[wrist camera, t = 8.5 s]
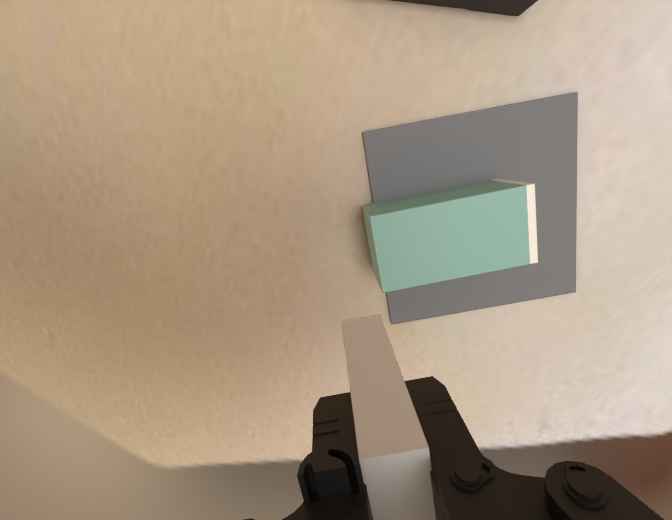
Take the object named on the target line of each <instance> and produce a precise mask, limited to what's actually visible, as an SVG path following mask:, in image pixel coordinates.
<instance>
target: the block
mask: <svg viewBox="0 0 672 520" xmlns="http://www.w3.org/2000/svg"><path fill="white" fill-rule="evenodd" d="M362 211H363V216H364V222H365V228H366V233H367V239H368V245H369V250H370V256H371V261H372V267H373V271H374V273H375V275H376V278H377V280H378V282H379V285H380V287H381V290H382V292H383V293H384V292H389V291H394V290H399V289H405V288H410V287H415V286H420V285H425V284H430V283H435V282H440V281H446V280H451V279H456V278H461V277H466V276H471V275H476V274H481V273H486V272H492V271H497V270H502V269H507V268H512V267H517V266H522V265H527V264H533V263H538V252H537V227H536V203H535V184H533V183H526V182H518V181H511V180H503V179H492V180H487V181H482V182H477V183H472V184H467V185H462V186H457V187H452V188H447V189H442V190H437V191H433V192H428V193H423V194H418V195H413V196H408V197H403V198H398V199H393V200H388V201H383V202H378V203H373V204H368V205H363V206H362Z"/></svg>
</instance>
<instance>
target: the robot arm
mask: <svg viewBox="0 0 672 520" xmlns="http://www.w3.org/2000/svg"><path fill="white" fill-rule="evenodd" d="M342 329H343V337H344V345H345V353H346V360H347V368H348V376H349V384H350V392H349V393H343V394H337V395H332V396H326V397H321V398H320V399H319V401H318V403H317V404H316V406H315V408H314V410H313V442H312V452H311V453H310V454H308V455H307V456H306V458H305V459H304V460H303V462H302V463H301V464H300V467H299V471H298V474H297V477H298V481H299V485H300V488H301V492H302V496H303V499H304V502H303V504H302V505H301V506H300V507H299V508H298V509H297V510H296V511H295V512H294V513H292V514H291V515H289V516H288V517H286V518H284V519H282V520H664V519H663V518H661V517H660V516H659V515H658V514H656V513H655V512H654V511H653V510H651V509H650V508H649V507H648V506H647V505H645V504H644V503H643V502H642V501H640V500H639V499H638V498H637V497H635V496H634V495H633V494H632V493H630V492H629V491H628V490H627V489H626V488H624V487H623V486H622V485H621V484H619V483H618V482H617V481H616V480H614V479H613V478H612V477H611V476H609V475H607V474H606V473H604V472H603V471H601V470H600V469H598V468H596V467H593V466H590V465H587V464H585V463H582V462H574V461H573V462H572V461H564V462H560V463H555V464H554V465H553V466H551V467H550V468H549V469H548V470H547V473H546V476H545V478H541V477H532V476H523V475H517V474H513V473H509V472H506V471H504V470H501V469H499V468H498V467H496V466H495V465H494V464H493V463H492V462H491V461H490V460H488V459H487V458H485V457H484V456H483V455H482V454H481V452H480V451H479V449H478V447H477V445H476V443H475V442H474V440H473V438H472V436H471V434H470V432H469V430H468V429H467V427H466V425H465V423H464V421H463V419H462V417H461V415H460V414H459V412H458V411H457V408H456V406H455V404H454V402H453V400H451V397H450V395H449V393H448V391H447V389H446V387H445V385H443V384H442V383H441V382H439V381H438V380H437V379H435V378H434V377H433V376H431V377H426V378H420V379H415V380H409V381H404V379H403V376H402V373H401V371H400V368H399V365H398V363H397V360H396V357H395V354H394V352H393V349H392V346H391V344H390V341H389V338H388V335H387V333H386V330H385V327H384V325H383V322H382V319H381V316H380V314H378V315H373V316H367V317H362V318H356V319H351V320H345V321H342ZM245 520H254V519H245Z"/></svg>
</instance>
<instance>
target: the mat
mask: <svg viewBox="0 0 672 520" xmlns="http://www.w3.org/2000/svg"><path fill="white" fill-rule="evenodd" d="M577 105H578V92H574V93H569V94H563V95H558V96H553V97H547V98H542V99H537V100H531V101H526V102H521V103H515V104H510V105H505V106H499V107H494V108H489V109H483V110H478V111H473V112H467V113H462V114H457V115H451V116H446V117H441V118H435V119H430V120H425V121H419V122H414V123H409V124H403V125H398V126H393V127H387V128H382V129H377V130H371V131H366V132H362V134H363V141H364V147H365V154H366V161H367V167H368V174H369V181H370V187H371V194H372V201H373V203H378V202H383V201H388V200H393V199H398V198H403V197H408V196H413V195H418V194H423V193H428V192H433V191H437V190H442V189H447V188H452V187H457V186H462V185H467V184H472V183H477V182H482V181H487V180H492V179H503V180H511V181H518V182H526V183H533V184H535V203H536V227H537V252H538V263H533V264H527V265H522V266H517V267H512V268H507V269H502V270H497V271H492V272H486V273H481V274H476V275H471V276H466V277H461V278H456V279H451V280H446V281H440V282H435V283H430V284H425V285H420V286H415V287H410V288H405V289H399V290H394V291H389V292H386V294H387V301H388V308H389V315H390V321H391V324H398V323H403V322H409V321H415V320H420V319H426V318H432V317H437V316H443V315H449V314H454V313H460V312H466V311H471V310H477V309H483V308H489V307H494V306H500V305H506V304H511V303H517V302H523V301H528V300H534V299H540V298H545V297H551V296H557V295H562V294H568V293H574V292H576V207H577Z"/></svg>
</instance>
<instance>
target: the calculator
mask: <svg viewBox="0 0 672 520" xmlns="http://www.w3.org/2000/svg"><path fill="white" fill-rule="evenodd" d="M393 1H401V2H411V3H420V4H430V5H440V6H449V7H459V8H466V9H469V10H472V11H479V12H487V13H495V14H503V15H511V16H519V15H520V14H522V13H523V12H524V11H525V10H527V9H528V8H529V7H530V6H532V5H533V4H534V3H535V2H536V1H538V0H393Z"/></svg>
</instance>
